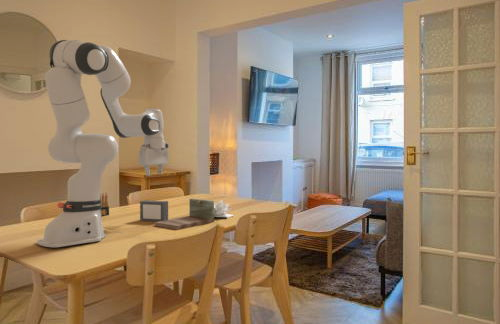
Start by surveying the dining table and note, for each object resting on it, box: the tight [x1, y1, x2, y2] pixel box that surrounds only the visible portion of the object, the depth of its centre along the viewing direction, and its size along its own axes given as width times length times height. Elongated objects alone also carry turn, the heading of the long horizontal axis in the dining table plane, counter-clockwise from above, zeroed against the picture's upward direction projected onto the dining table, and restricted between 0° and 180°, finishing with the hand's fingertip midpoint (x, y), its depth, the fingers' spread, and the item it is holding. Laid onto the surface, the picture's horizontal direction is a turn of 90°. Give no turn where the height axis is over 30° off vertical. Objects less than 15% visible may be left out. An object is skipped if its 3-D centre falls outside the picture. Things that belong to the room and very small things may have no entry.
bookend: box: [153, 198, 215, 231], centre depth 159 cm, size 22×14×10 cm, turn 144°
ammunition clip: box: [100, 191, 110, 218], centre depth 173 cm, size 11×2×12 cm, turn 150°
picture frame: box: [139, 199, 169, 223], centre depth 166 cm, size 4×12×9 cm, turn 74°
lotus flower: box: [212, 198, 234, 219], centre depth 177 cm, size 14×15×9 cm
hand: (154, 174), depth 166 cm, fingers open, 8 cm apart
